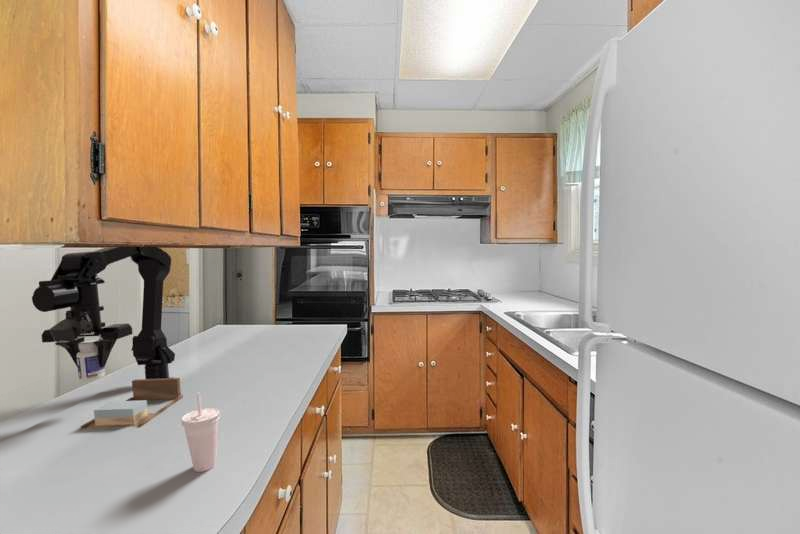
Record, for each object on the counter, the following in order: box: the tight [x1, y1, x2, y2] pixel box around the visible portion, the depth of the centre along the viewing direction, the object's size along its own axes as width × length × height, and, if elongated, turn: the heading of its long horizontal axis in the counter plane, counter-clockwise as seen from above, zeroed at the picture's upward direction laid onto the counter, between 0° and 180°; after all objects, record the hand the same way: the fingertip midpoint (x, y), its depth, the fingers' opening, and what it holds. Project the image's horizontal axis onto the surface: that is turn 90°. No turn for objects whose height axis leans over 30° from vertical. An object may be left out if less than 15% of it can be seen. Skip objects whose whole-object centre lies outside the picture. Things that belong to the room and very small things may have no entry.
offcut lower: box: [94, 407, 149, 426], centre depth 98 cm, size 5×9×2 cm, turn 88°
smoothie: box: [181, 391, 221, 473], centre depth 77 cm, size 6×6×14 cm
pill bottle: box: [76, 339, 106, 382], centre depth 104 cm, size 5×5×9 cm
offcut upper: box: [93, 399, 148, 418], centre depth 98 cm, size 5×9×2 cm, turn 88°
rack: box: [80, 377, 184, 430], centre depth 103 cm, size 18×14×6 cm
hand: (91, 367), depth 104 cm, fingers closed on pill bottle, 5 cm apart
